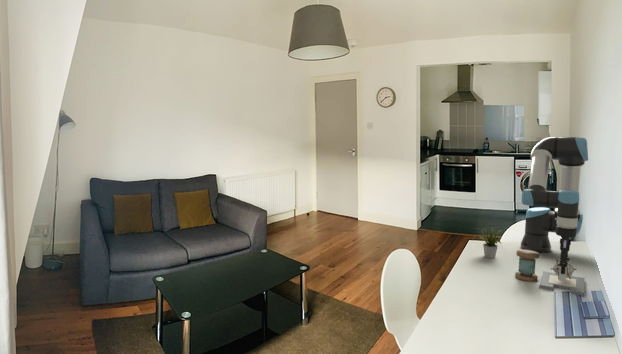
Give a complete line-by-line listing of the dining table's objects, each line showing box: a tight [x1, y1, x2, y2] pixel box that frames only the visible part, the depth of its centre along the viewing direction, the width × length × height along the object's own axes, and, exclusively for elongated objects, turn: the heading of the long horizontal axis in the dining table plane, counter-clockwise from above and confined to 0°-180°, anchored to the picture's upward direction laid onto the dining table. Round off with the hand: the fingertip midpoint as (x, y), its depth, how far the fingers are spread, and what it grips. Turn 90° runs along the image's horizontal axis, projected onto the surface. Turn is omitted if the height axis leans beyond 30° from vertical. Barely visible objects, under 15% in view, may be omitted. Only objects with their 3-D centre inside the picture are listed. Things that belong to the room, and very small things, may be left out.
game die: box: [550, 258, 577, 279], centre depth 178 cm, size 9×8×10 cm
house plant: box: [477, 226, 503, 259], centre depth 217 cm, size 14×14×16 cm
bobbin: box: [514, 249, 540, 283], centre depth 186 cm, size 9×9×12 cm
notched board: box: [538, 270, 585, 296], centre depth 179 cm, size 20×16×2 cm
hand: (562, 277), depth 179 cm, fingers closed on game die, 8 cm apart
